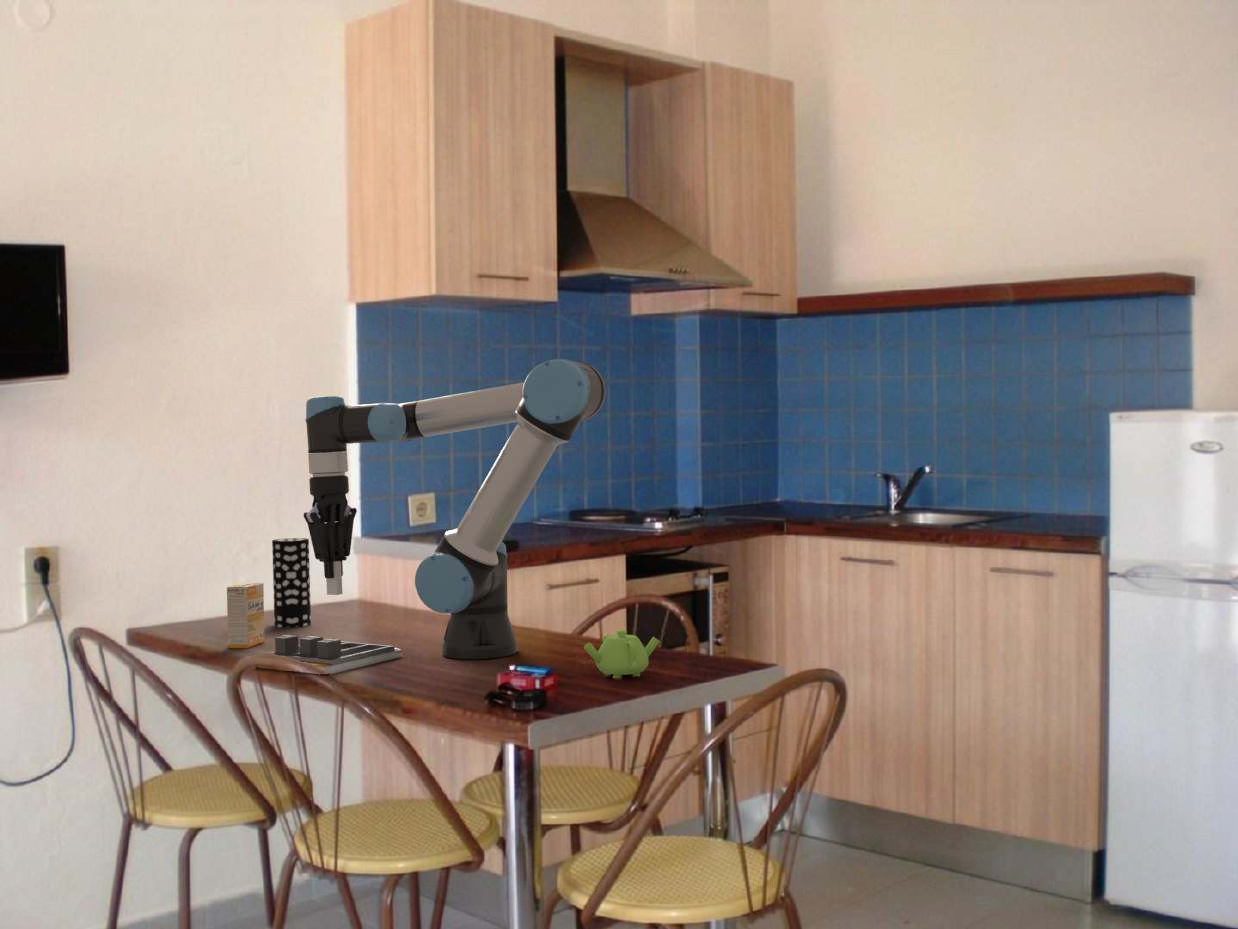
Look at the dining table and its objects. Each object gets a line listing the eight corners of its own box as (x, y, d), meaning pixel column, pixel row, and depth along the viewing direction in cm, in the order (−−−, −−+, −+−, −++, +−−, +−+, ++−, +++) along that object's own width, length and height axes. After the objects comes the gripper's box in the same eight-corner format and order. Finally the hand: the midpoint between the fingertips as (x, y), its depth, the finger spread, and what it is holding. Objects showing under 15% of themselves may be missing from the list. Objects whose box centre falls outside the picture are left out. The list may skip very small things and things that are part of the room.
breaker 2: (341, 660, 265) (340, 638, 265) (328, 663, 262) (327, 641, 262) (330, 659, 266) (330, 637, 266) (317, 662, 263) (317, 640, 263)
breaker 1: (298, 656, 270) (298, 634, 270) (285, 659, 267) (284, 637, 267) (289, 655, 272) (288, 634, 272) (275, 658, 269) (275, 636, 268)
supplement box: (248, 649, 290) (246, 586, 290) (227, 648, 291) (225, 586, 291) (266, 642, 298) (264, 582, 298) (245, 642, 299) (243, 581, 299)
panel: (401, 657, 277) (401, 644, 277) (325, 675, 258) (324, 662, 258) (334, 650, 286) (333, 638, 286) (255, 668, 267) (255, 655, 267)
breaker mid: (323, 657, 268) (322, 636, 268) (310, 660, 265) (309, 638, 265) (313, 656, 270) (312, 635, 270) (300, 659, 267) (299, 637, 267)
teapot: (640, 684, 245) (639, 636, 244) (580, 680, 249) (579, 633, 249) (661, 672, 255) (661, 627, 255) (604, 669, 259) (603, 624, 259)
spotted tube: (318, 623, 324) (316, 538, 324) (292, 628, 317) (290, 541, 317) (293, 621, 329) (290, 537, 328) (266, 626, 322) (264, 540, 321)
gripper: (337, 473, 279) (343, 589, 280) (290, 477, 268) (297, 598, 268) (365, 472, 275) (371, 590, 276) (319, 476, 264) (326, 599, 265)
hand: (334, 594), depth 272 cm, fingers closed
